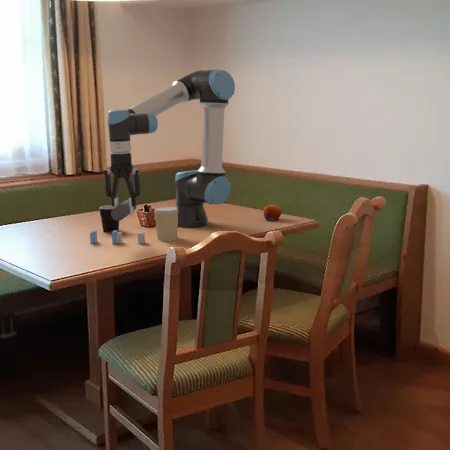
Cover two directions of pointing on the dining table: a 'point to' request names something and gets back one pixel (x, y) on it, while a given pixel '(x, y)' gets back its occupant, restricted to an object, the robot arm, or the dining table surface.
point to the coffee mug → (108, 219)
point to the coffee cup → (166, 223)
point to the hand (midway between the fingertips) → (124, 214)
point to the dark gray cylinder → (121, 211)
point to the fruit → (272, 212)
